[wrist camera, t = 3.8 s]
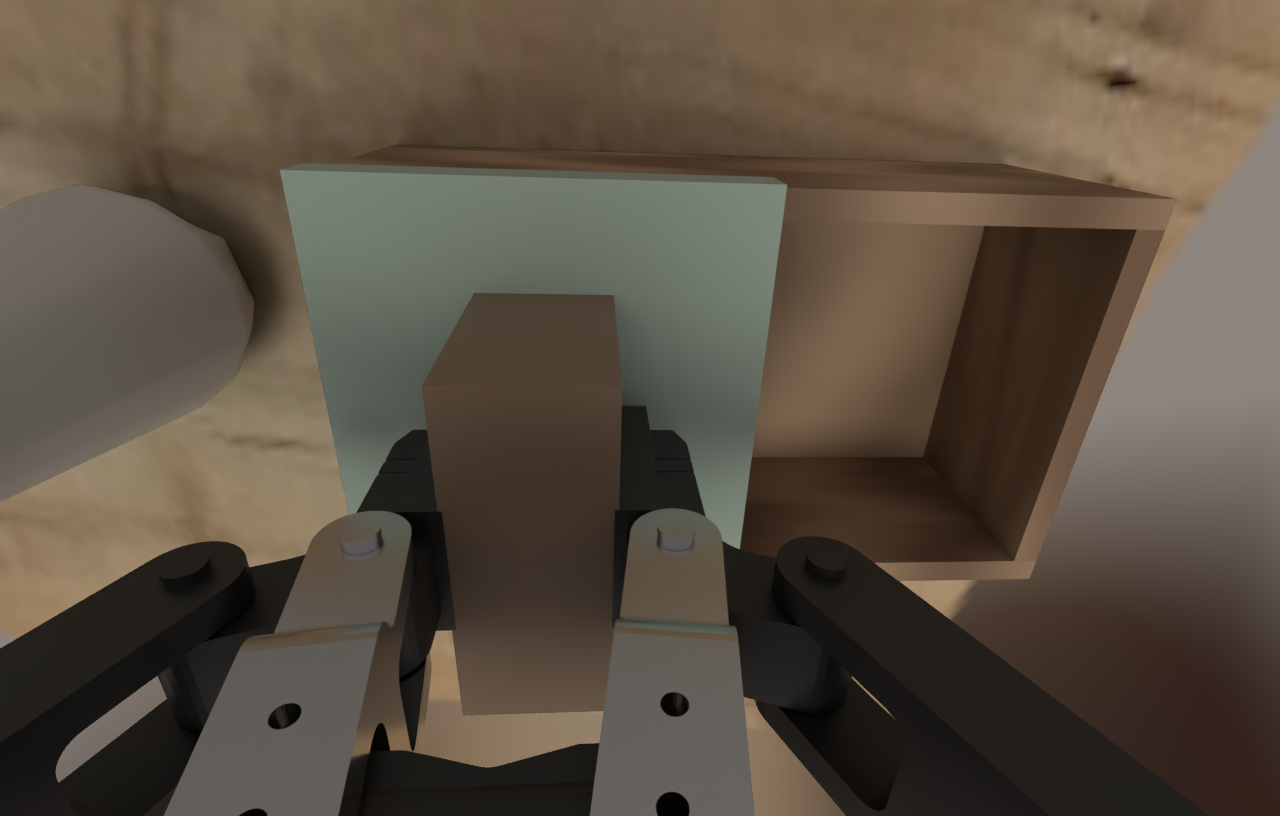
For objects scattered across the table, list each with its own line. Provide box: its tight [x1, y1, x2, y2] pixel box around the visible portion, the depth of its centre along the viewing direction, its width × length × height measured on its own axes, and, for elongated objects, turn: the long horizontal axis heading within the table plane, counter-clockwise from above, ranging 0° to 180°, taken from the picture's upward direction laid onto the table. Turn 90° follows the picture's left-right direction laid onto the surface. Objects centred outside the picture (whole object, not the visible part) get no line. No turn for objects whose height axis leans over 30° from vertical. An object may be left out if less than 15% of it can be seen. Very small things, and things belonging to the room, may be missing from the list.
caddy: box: [337, 145, 1177, 581], centre depth 17 cm, size 17×10×6 cm, turn 88°
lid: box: [280, 163, 787, 715], centre depth 12 cm, size 8×10×5 cm
